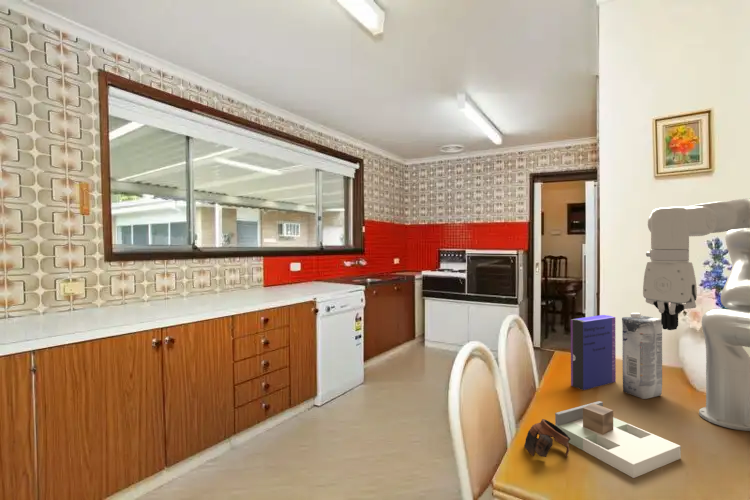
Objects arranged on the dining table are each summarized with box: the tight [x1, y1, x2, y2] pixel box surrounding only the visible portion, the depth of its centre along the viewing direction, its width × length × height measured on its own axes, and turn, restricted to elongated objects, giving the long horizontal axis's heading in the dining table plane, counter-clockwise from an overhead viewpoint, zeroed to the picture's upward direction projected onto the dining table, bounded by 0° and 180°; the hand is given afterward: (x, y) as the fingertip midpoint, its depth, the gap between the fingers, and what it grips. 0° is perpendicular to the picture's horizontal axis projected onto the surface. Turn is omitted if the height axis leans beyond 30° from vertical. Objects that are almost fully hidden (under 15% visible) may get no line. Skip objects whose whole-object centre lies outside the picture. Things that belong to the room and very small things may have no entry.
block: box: [583, 402, 614, 435], centre depth 96 cm, size 5×5×5 cm
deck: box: [554, 400, 682, 479], centre depth 93 cm, size 20×18×6 cm
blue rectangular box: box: [570, 314, 617, 391], centre depth 134 cm, size 17×5×24 cm, turn 115°
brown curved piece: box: [524, 418, 570, 458], centre depth 90 cm, size 12×10×8 cm
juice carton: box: [621, 312, 663, 400], centre depth 125 cm, size 9×10×27 cm
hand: (669, 328), depth 94 cm, fingers closed
